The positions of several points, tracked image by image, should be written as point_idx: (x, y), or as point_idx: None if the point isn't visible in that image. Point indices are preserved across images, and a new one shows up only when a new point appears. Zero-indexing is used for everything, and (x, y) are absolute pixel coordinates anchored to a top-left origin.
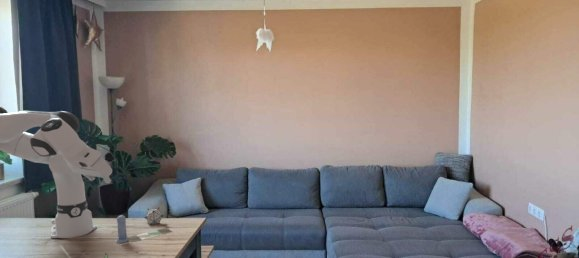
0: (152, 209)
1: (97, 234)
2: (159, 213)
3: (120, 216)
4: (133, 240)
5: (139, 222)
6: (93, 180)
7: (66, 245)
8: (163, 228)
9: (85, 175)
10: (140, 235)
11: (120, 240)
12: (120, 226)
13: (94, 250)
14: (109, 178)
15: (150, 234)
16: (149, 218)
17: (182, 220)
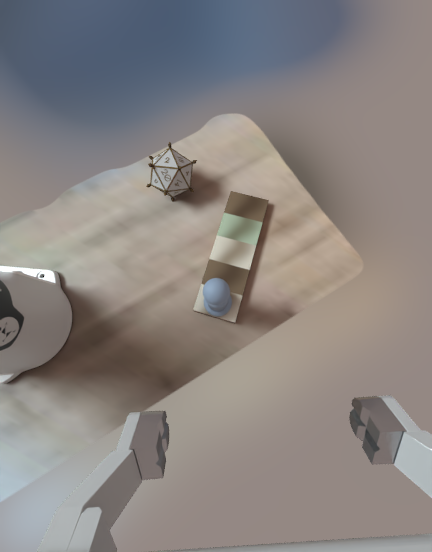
0: (160, 159)
1: (99, 298)
2: (186, 161)
3: (220, 294)
4: (235, 284)
5: (126, 194)
6: (168, 428)
7: (92, 388)
8: (230, 197)
9: (109, 529)
10: (221, 254)
11: (225, 313)
12: (224, 304)
13: (189, 366)
14: (410, 420)
15: (237, 238)
16: (175, 189)
17: (210, 137)
